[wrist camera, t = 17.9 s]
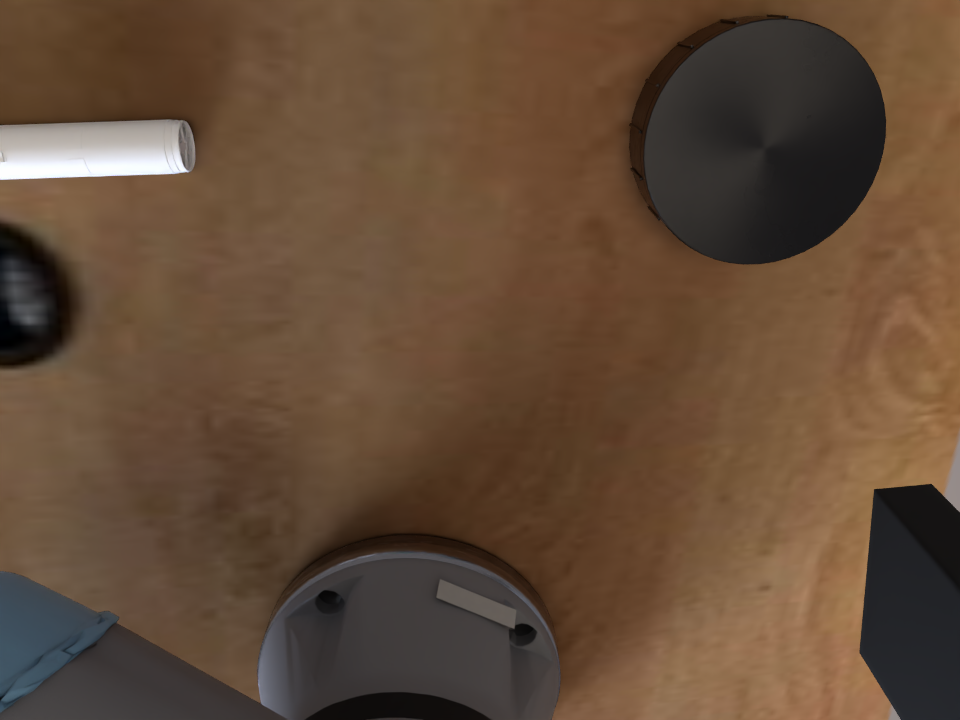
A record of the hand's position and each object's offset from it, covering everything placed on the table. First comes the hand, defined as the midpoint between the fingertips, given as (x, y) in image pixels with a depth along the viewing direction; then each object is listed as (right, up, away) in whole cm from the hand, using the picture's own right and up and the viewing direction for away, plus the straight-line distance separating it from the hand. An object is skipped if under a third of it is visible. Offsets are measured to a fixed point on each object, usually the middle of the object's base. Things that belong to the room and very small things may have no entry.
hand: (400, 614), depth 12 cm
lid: (+12, +12, +21) cm, 27 cm away
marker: (-20, +12, +23) cm, 33 cm away
